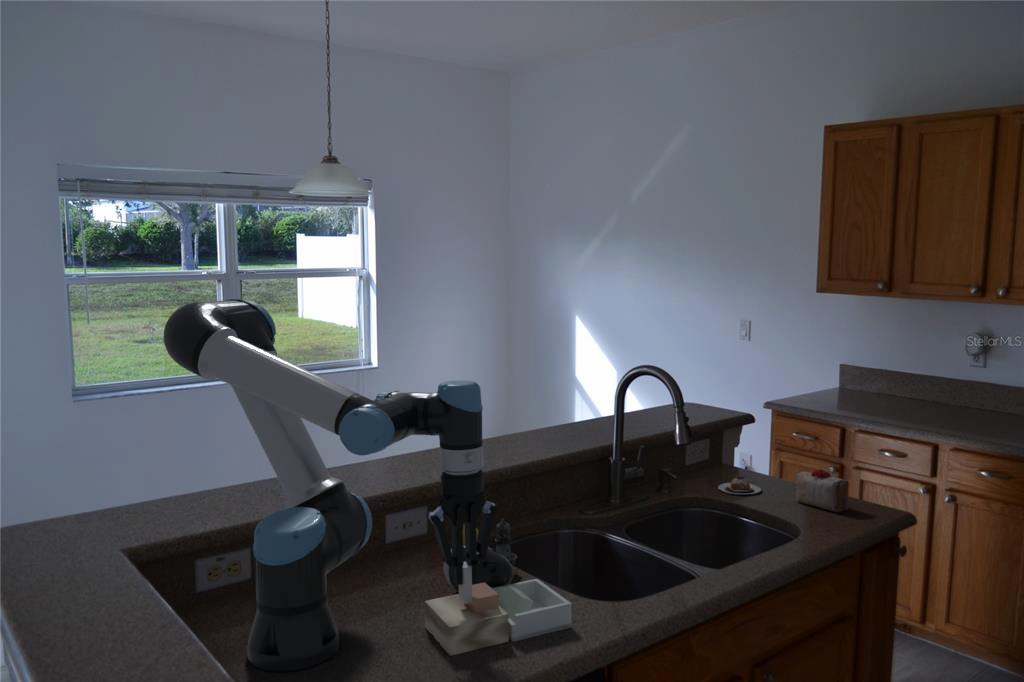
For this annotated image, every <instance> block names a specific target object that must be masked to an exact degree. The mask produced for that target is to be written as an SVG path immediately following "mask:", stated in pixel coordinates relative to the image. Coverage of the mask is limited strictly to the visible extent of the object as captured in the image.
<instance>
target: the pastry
mask: <svg viewBox="0 0 1024 682" xmlns="http://www.w3.org/2000/svg"><path fill="white" fill-rule="evenodd" d="M745 477H746V476H745V475H740V474H739V475H735V478H733V479H732V480H731V482H726V483H721V484H719V485H718V487H717V488H718V490H720V491H721V492H723V493H725V494H728V495H732V494H733V495H734V496H738V495H739V496H749V494H750V495H755V494H758V493H760V492H762V489H761V488H760V487H759V486H757V485H754V484H752V483H750V482H749V480H748V479H747V478H745ZM727 487H728V488H727ZM751 488H752V489H753V490H754V491H753V490H752V489H751ZM726 489H730V490H731V491H732V492H731V491H728V490H726ZM751 491H753V492H751Z"/></svg>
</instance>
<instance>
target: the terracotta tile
mask: <svg viewBox="0 0 1024 682" xmlns="http://www.w3.org/2000/svg"><path fill="white" fill-rule="evenodd" d="M467 605H468V606H469V607H470V608H471V609H472V610H473V611H474V612H475V613H478V612H482V611H487V610H491V609H496V608H499V594H498V593H497V592H495V591H494V590H493V589H492V588H491V587H489V586H488V585H487V584H486V583H485V582H484V583H479V584H474V585H472V602H471V603H467Z"/></svg>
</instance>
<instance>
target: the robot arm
mask: <svg viewBox="0 0 1024 682" xmlns="http://www.w3.org/2000/svg"><path fill="white" fill-rule="evenodd" d="M166 321H167V322H165V325H164V329H163V344H164V347H165V350H166V351H167V354H168V355H169V357H170V358H171V359H172V360H173V361H174V362H175V363H176V364H177V365H179V366H180V367H181V368H183V369H184V370H186V371H189V372H191V373H192V374H194V375H197V376H198V377H201V378H203V379H206V380H208V381H210V380H215V379H218V380H219V381H220V382H223V383H226V384H229V385H230V386H231V388H232V389H233V392H234V394H235V395H236V397H237V400H238V402H239V404H240V405H241V407H242V409H243V412H244V413H245V415H246V417H247V419H248V421H249V423H250V426H251V427H252V430H253V431H254V434H255V436H256V437H257V439H258V441H259V443H260V445H261V447H262V449H263V451H264V453H265V455H266V457H267V459H268V461H269V463H270V466H272V470H273V471H274V473H275V475H276V477H277V479H278V481H279V483H280V485H281V486H282V489H283V491H284V493H285V495H286V497H287V500H286V501H287V502H286V505H285V508H284V509H283V510H278V511H274V512H272V513H270V514H269V515H266V516H265V517H264V518H262V519H261V520H260V521H259V522H258V523H257V524H256V526H255V530H254V532H253V533H254V534H253V545H252V553H253V556H254V557H253V558H254V573H255V574H254V577H255V599H256V613H255V617H254V620H253V623H252V626H251V630H250V633H249V636H248V637H249V638H248V642H247V648H246V649H247V658H248V659H247V660H248V661H249V663H250V664H251V665H252V666H254V667H256V668H258V669H259V670H263V671H269V672H270V671H271V672H293V671H299V670H305V669H308V668H311V667H315V666H317V665H319V664H321V663H323V662H325V661H327V660H329V659H330V658H332V657H333V656H334V655H335V654H336V653H337V651H338V650H339V647H340V637H339V636H340V635H339V630H338V626H337V623H336V622H335V619H334V616H333V614H332V611H331V608H330V606H329V604H328V603H329V602H328V591H327V590H328V587H327V585H328V584H327V582H328V581H327V574H329V573H330V572H331V571H333V570H335V569H336V568H337V567H339V566H340V565H341V564H342V563H344V562H345V561H347V560H349V559H350V558H353V557H355V556H356V555H357V554H358V552H360V550H361V549H362V548H363V547H365V546H366V544H367V542H368V541H369V539H370V536H371V533H372V529H373V517H372V512H371V509H370V508H369V505H368V503H367V502H366V501H365V499H363V498H362V497H361V496H360V495H356V494H355V493H354V492H351V491H348V489H347V487H346V486H345V484H344V482H343V479H339V478H337V477H334V476H332V475H331V474H330V473H329V471H328V469H327V467H326V464H325V463H324V460H323V458H322V457H321V455H320V453H319V451H318V449H317V447H316V445H315V442H314V440H313V439H312V437H311V435H310V433H309V431H308V429H307V427H306V425H305V423H304V421H303V420H305V421H308V422H310V423H312V424H314V425H316V426H318V427H320V428H322V429H324V430H327V431H328V432H330V433H333V434H334V435H336V436H338V437H339V438H340V439H339V440H340V441H341V444H343V446H344V448H345V449H346V451H348V452H349V453H352V454H354V455H357V456H369V455H372V454H377V453H379V452H381V451H383V450H385V449H387V448H388V447H390V446H392V445H393V444H395V443H397V442H399V441H402V440H403V439H405V438H408V437H410V436H433V437H435V436H438V437H439V439H438V440H439V459H440V460H439V467H440V469H441V470H442V471H441V472H440V493H441V495H440V496H441V498H440V500H439V502H438V506H437V507H436V509H435V510H433V511H428V512H427V513H426V517H427V519H428V520H429V521H430V522H431V524H432V527H433V531H434V533H435V537H436V541H437V545H438V549H439V551H440V556H441V559H442V561H443V563H444V562H445V563H446V564H447V565H448V566H453V574H454V582H455V583H456V584H457V585H459V592H458V594H459V599H460V600H461V601H462V602H463V603H464V604H467V603H471V602H472V582H475V581H476V566H478V564H479V562H478V561H480V560H481V559H482V560H484V559H485V558H486V555H487V550H488V547H489V544H490V538H491V534H492V533H491V532H492V528H493V525H494V524H493V523H494V518H495V516H496V515H497V513H498V512H499V506H498V505H497V504H495V503H493V502H492V501H488V500H487V496H486V495H485V492H484V490H485V483H484V482H485V477H484V473H485V471H483V469H482V468H483V467H484V447H483V446H484V445H483V443H484V442H483V441H484V440H483V406H484V405H483V403H482V389H481V386H480V385H479V383H477V382H476V381H473V380H472V381H471V380H448V381H443V382H440V383H439V384H438V387H437V391H436V392H417V391H416V392H414V391H400V390H394V391H382V392H379V393H378V394H377V395H376V397H375V399H374V400H373V399H370V398H368V397H366V396H364V395H361V394H359V393H357V392H355V391H353V390H351V389H349V388H348V387H345V386H343V385H341V384H339V383H336V382H333V381H332V380H329V379H327V378H325V377H323V376H321V375H319V374H316V373H315V372H312V371H310V370H308V369H306V368H303V367H301V366H299V365H297V364H295V363H293V362H291V361H289V360H286V359H284V358H282V357H280V356H278V352H277V350H276V347H275V346H274V344H275V341H276V338H275V336H276V335H277V329H276V328H277V327H276V325H275V322H274V319H273V318H272V316H271V314H270V313H269V312H268V310H267V309H266V308H265V307H263V306H262V305H260V304H259V303H257V302H254V301H252V300H247V299H239V298H231V299H225V300H218V301H217V300H214V301H198V302H197V301H196V302H190V303H187V304H185V305H183V306H181V307H179V308H177V309H176V310H175V311H174V312H173V313H171V315H170V316H169V318H168V319H167V320H166ZM481 511H482V513H481ZM480 514H481V518H480V522H479V527H478V518H479V517H478V516H479V515H480ZM444 515H445V516H446V517H447V518H448V520H449V524H450V529H451V531H450V533H451V534H450V537H451V538H450V539H451V545H450V542H449V538H448V535H447V531H446V528H445V525H444V522H443V521H444ZM464 525H465V557H466V560H467V562H463V529H464ZM476 528H478V531H479V532H478V537H477V541H476ZM451 549H452V553H451Z"/></svg>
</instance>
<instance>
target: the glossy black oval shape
mask: <svg viewBox="0 0 1024 682" xmlns="http://www.w3.org/2000/svg"><path fill="white" fill-rule="evenodd" d="M450 549H451V553H452V548H450ZM463 562H467V560H466V557H465V542H464V543H463ZM478 562H479V564H478V566H476V581H475V582H472V585H474V584H479V583H484V582H485V583H486V584H487V585H488V586H489V587H491V588H495V587H500V586H505V585H509V584H512V581H513V579H514V576H515V575H514V571H513V569H514V568H513V567H514V566H513V567H512V565H511V564H510V562H509V561H508V560H507V559H506V558H505V557H504V556H503V555H501V554H500V553H498V552H496V549H493V548H491V547H489V546H488V550H487V555H486V558H485V559H484V560H482V559H481V560H480V561H478ZM443 574H444V578H445V580H446V581H447V583H448V585H449V586H450V587H452V588H453V589H454V590H455V591H456V592H458V593H459V585H457V584H456V583H455V582H454V574H453V566H448V565H447V564H446V563H445V562H444V561H443Z"/></svg>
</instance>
